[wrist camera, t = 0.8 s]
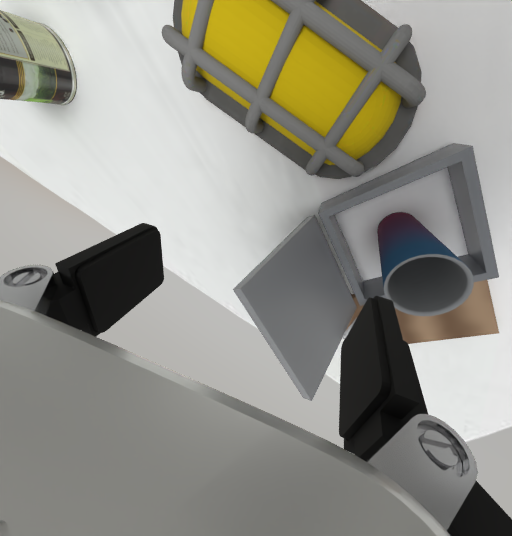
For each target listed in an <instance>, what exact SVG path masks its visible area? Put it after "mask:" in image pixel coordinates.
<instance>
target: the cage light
mask: <svg viewBox="0 0 512 536" xmlns="http://www.w3.org/2000/svg"><path fill="white" fill-rule="evenodd" d="M173 23H174V27H172V26H170V25H165V26H164V27H163V29H162V36H163V39H164V40H165V42H166V43H168V44H169V45H170V46H171V47H173V48H174V49H175V50H177V51H178V53H179V57H180V60H181V63H182V78H183V82H184V84H185V85H186V87H187V88H188V89H190V90H192V91H196V92H200V93H201V94H202V95H203V96H204V97H205V98H206V99H207V100H208V101H210V102H211V103H213V104H214V105H215V106H217V107H218V108H219V109H221V110H222V111H224V112H225V113H226V114H228V115H229V116H231V117H232V118H233V119H235V120H236V121H238V122H239V123H240V124H242V125H243V126H245V127H246V129H247V131H248V132H250V133H254V134H256V135H257V136H259V137H260V138H261V139H263V140H264V141H266V142H267V143H268V144H270V145H271V146H273V147H274V148H275V149H277V150H278V151H280V152H281V153H282V154H284V155H285V156H287V157H288V158H289V159H291V160H292V161H294V162H295V163H296V164H298V165H299V166H301V167H302V168H303V169H305V170H306V172H307V174H309V175H314V174H315V175H317V176H319V177H325V178H334V179H341V178H346V177H351V176H355V177H357V176H360V175H361V174H362V173H363V172H365V171H367V170H369V169H371V168H373V167H374V166H376V165H378V164H379V163H380V162H381V161H383V160H384V159H385V158H386V157H387V156H388V155H389V154H390V153H391V152H392V151H394V150H395V149H396V148H397V146H398V145H399V143H400V142H401V140H402V139H403V137H404V136H405V134H406V133H407V131H408V130H409V128H410V127H411V124H412V121H413V118H414V115H415V112H416V110H417V107H418V105H419V104H420V103H421V102H422V101H423V99H424V98H425V95H426V91H425V88H424V86H423V85H422V84H421V69H420V66H419V63H418V59H417V56H416V52H415V49H414V46H413V45H412V44H411V43H410V42H409V40H410V39H411V36H412V28H411V27H410V25H407V24H406V25H402V26H400V27H399V28H397V27H396V26H395V25H393V24H392V23H391V22H389V21H388V20H387V19H385V18H384V17H383V16H381V15H380V14H379V13H377V12H376V11H375V10H373V9H372V8H370V7H369V6H368V5H366V4H365V3H364V2H362V1H361V0H175V1H174V11H173Z"/></svg>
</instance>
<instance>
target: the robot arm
mask: <svg viewBox="0 0 512 536" xmlns="http://www.w3.org/2000/svg"><path fill="white" fill-rule="evenodd" d="M56 266H57V269H58V272H57V273H55V274H54V273H53V271H52V269H51V268H50V267H48V266H43V265H30V266H24V267H19V268H16V269H13V270H11V271H8V272H7V273H5V274H3V275H2V276H1V277H0V536H512V519H511V518H510V517H509V516H508V515H507V514H506V513H505V512H504V510H503V509H502V508H501V507H500V506H499V505H498V504H497V503H496V502H495V501H494V500H493V499H492V498H491V496H490V495H489V494H488V493H487V492H486V491H485V490H484V489H483V488H482V487H481V485H479V483H478V482H477V481H476V478H477V474H478V471H477V465H476V461H475V459H474V456H473V455H472V452H471V450H470V449H469V447H468V446H467V444H466V443H465V441H464V440H463V439H462V438H461V437H460V436H459V435H458V433H457V432H456V431H455V430H454V429H452V428H451V427H450V426H449V425H447V424H446V423H445V422H443V421H442V420H440V419H438V418H436V417H434V416H431V415H428V412H427V408H426V405H425V401H424V398H423V394H422V391H421V387H420V384H419V380H418V377H417V373H416V370H415V366H414V362H413V359H412V355H411V352H410V348H409V346H408V343H407V342H406V341H404V340H403V337H402V334H401V330H400V326H399V322H398V318H397V315H396V311H395V307H394V303H393V301H392V300H389V299H386V298H383V297H380V296H375V297H374V298H370V297H369V298H368V299H367V301H366V303H365V304H364V306H363V308H362V310H361V312H360V313H359V315H358V317H357V319H356V320H355V322H354V324H353V326H352V328H351V329H350V331H349V333H348V335H347V336H346V338H345V340H344V342H343V344H342V348H341V377H340V415H339V416H340V417H339V434H340V436H341V437H343V438H344V449H343V448H340V447H339V446H337V445H335V444H333V443H331V442H329V441H327V440H325V439H323V438H321V437H319V436H316V435H315V434H312V433H310V432H308V431H306V430H303V429H302V428H300V427H297V426H295V425H293V424H291V423H289V422H287V421H285V420H282V419H280V418H278V417H276V416H274V415H272V414H269V413H267V412H265V411H263V410H260V409H258V408H256V407H254V406H251V405H249V404H247V403H245V402H242V401H240V400H238V399H236V398H233V397H231V396H229V395H227V394H225V393H222V392H220V391H218V390H216V389H213V388H211V387H209V386H206V385H204V384H202V383H200V382H197V381H195V380H193V379H191V378H188V377H186V376H184V375H182V374H179V373H177V372H175V371H173V370H170V369H168V368H166V367H163V366H161V365H159V364H157V363H154V362H152V361H149V360H148V359H145V358H143V357H141V356H138V355H136V354H134V353H132V352H129V351H127V350H125V349H122V348H120V347H118V346H116V345H113V344H111V343H108V342H106V341H104V340H102V339H99V338H97V337H96V336H97V335H98V334H100V333H102V332H105V331H106V330H108V329H109V328H110V327H111V326H112V325H114V324H115V323H116V322H117V321H118V320H120V319H121V318H122V317H123V316H124V315H125V314H127V313H128V312H129V311H130V310H131V309H133V308H134V307H135V306H136V305H137V304H139V303H140V302H141V301H142V300H143V299H144V298H146V297H147V296H148V295H149V294H150V293H152V292H153V291H154V290H155V289H156V288H158V287H159V286H160V285H161V284H162V282H163V280H164V274H163V261H162V249H161V237H160V232H159V231H158V229H157V228H156V227H155V226H152V225H149V224H146V223H142V224H139V225H137V226H135V227H133V228H131V229H129V230H126V231H124V232H122V233H120V234H118V235H116V236H114V237H112V238H109V239H107V240H105V241H103V242H101V243H99V244H97V245H94V246H92V247H90V248H88V249H86V250H84V251H81V252H79V253H77V254H75V255H73V256H71V257H68V258H67V259H64V260H62V261H60V262H58V263H56ZM81 330H82V331H81ZM346 450H347V451H346ZM348 451H349V452H348ZM350 452H351V453H350ZM352 453H353V454H352ZM354 454H355V455H354Z"/></svg>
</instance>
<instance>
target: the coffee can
mask: <svg viewBox="0 0 512 536" xmlns="http://www.w3.org/2000/svg"><path fill="white" fill-rule="evenodd" d="M75 92H76V74H75V69H74V66H73V62H72V59H71V57H70V55H69V53H68V51H67V49H66V47H65V45H64V44H63V42H62V40H61V39H60V38H59V37H58V36H57V35H56V33H55V32H54V31H53V30H51V29H50V28H49V27H47V26H45V25H43V24H41V23H36V22H33V21H30V20H27V19H24V18H21V17H19V16H16V15H13V14H10V13H7V12H4V11H1V10H0V99H10V100H21V101H32V102H44V103H54V104H60V105H65V104H68V103H69V102H71V101H72V99H73V98H74V96H75Z"/></svg>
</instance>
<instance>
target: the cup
mask: <svg viewBox="0 0 512 536" xmlns="http://www.w3.org/2000/svg"><path fill="white" fill-rule="evenodd" d="M377 232H378V242H379V251H380V260H381V270H382V279H383V288H384V294H385V297H386V299H389V300H392V301H393V303H394V307H395V308H396V309H398V310H399V311H401V312H404V313H406V314H410V315H414V316H435V315H440V314H443V313H446V312H449V311H451V310H453V309H455V308H457V307H458V306H460V305H461V304H463V303H464V302H465V301H466V300H467V299H468V297H469V296H470V294H471V292H472V289H473V286H474V278H473V275H472V272H471V271H470V269H469V268H468V266H466V265H465V264H464V263H463V262H462V261H461V260H460V259H459V258H458V257H457V256H456V255H455V254H453V253H452V252H451V251H450V250H449V249H448V248H447V247H446V246H445V245H444V244H443V243H441V242H440V241H439V240H438V239H437V238H436V237H435V236H434V235H433V234H432V233H431V232H429V231H428V230H427V229H426V228H425V227H424V226H423V225H422V224H421V223H420V222H419V221H417V220H416V219H415V218H414V217H413V216H412V215H410V214H408V213H403V212H399V213H393V214H391V215H388V216H387V217H385V218H384V219H383V220H382V221H381V222H380V224H379V226H378V231H377Z"/></svg>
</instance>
